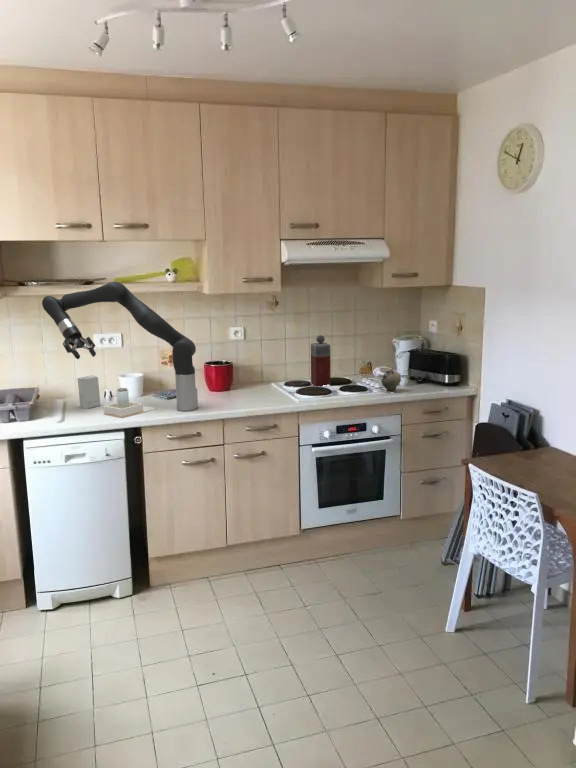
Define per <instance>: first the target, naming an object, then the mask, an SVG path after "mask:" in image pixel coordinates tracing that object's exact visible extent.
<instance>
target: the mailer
mask: <svg viewBox="0 0 576 768" xmlns="http://www.w3.org/2000/svg"><path fill="white" fill-rule="evenodd" d="M153 409H154V410H157V408H156V407H151V406H145V405H144V404H143V403H140V402H139V403H138V402H135V401H134V402H133V401H129V407H127V408H123V409H120V408H118V404H117V402H115V403H111V404H106V405H103V413H104V415H105V416H111V417H116V418H121V419H123V418H128V417H130V416H135V415H138V414H143V413H146V411H147V412H150V411H149V410H151V411H154V410H153ZM142 412H143V413H142Z"/></svg>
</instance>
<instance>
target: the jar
mask: <svg viewBox="0 0 576 768" xmlns="http://www.w3.org/2000/svg"><path fill="white" fill-rule="evenodd" d="M116 399H117V400H116V401H117V402H116V403H117V404H118V408H120V409H123V408H127V407H129V402H130V400H129V399H130V398H129V389H128V388H127V387H119V388H117V390H116Z"/></svg>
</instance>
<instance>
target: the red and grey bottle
mask: <svg viewBox="0 0 576 768" xmlns="http://www.w3.org/2000/svg"><path fill="white" fill-rule="evenodd" d="M315 339H316V342H312V343H310V384H311V383H312V384H313V385H314V386H323V385H327V384H331V385H332V383H331V379H332V378H331V377H332V375H331V372H332V371H331V344H329V343H327V342H325V340H326V339H325V336H324V335H322V334H321V335H320V334H319V335H317V336H316V338H315ZM314 386H313V387H314Z"/></svg>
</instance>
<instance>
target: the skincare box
mask: <svg viewBox="0 0 576 768" xmlns="http://www.w3.org/2000/svg"><path fill="white" fill-rule="evenodd" d="M77 386H78V387H77V389H78V397H79V406H80V408H82V409H85V410H86V409H91V408H96V407H100V406H101V396H100V386H99V377H98V376H97V375H96V376H95V375H87V376H82V377H81V376H80V377H78V378H77Z"/></svg>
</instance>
